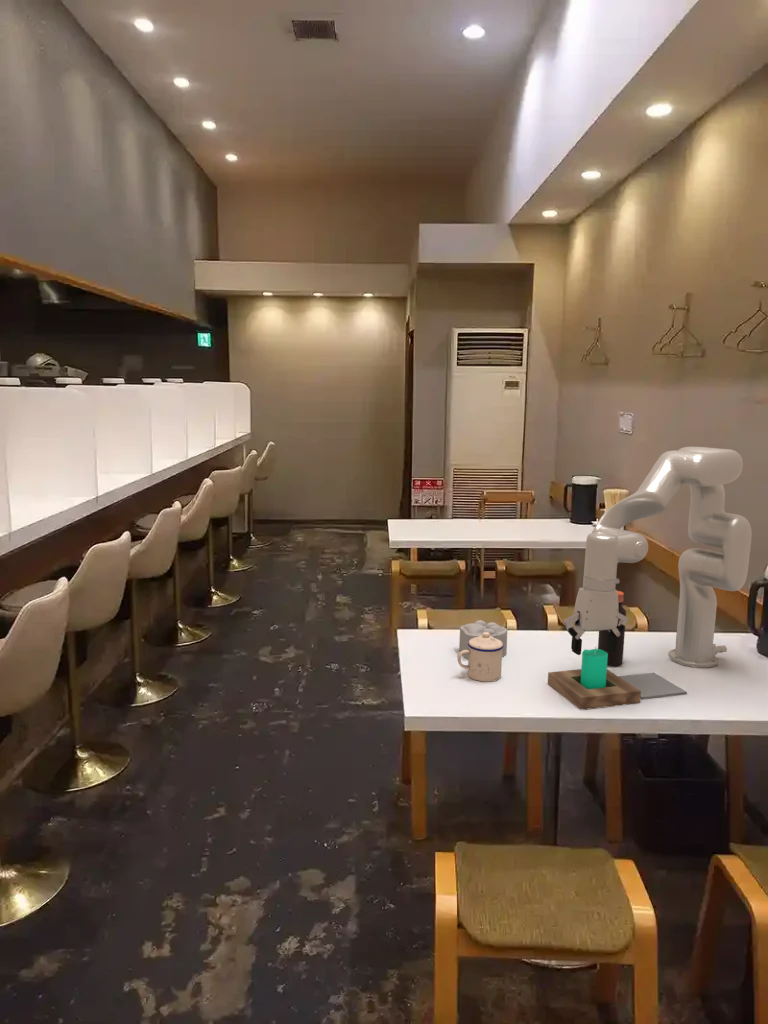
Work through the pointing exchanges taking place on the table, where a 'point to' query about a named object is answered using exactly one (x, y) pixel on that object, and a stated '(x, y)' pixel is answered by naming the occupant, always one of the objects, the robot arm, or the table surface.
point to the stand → (593, 690)
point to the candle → (594, 668)
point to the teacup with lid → (483, 658)
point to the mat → (653, 685)
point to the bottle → (617, 656)
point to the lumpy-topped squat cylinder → (477, 630)
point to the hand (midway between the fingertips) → (593, 651)
